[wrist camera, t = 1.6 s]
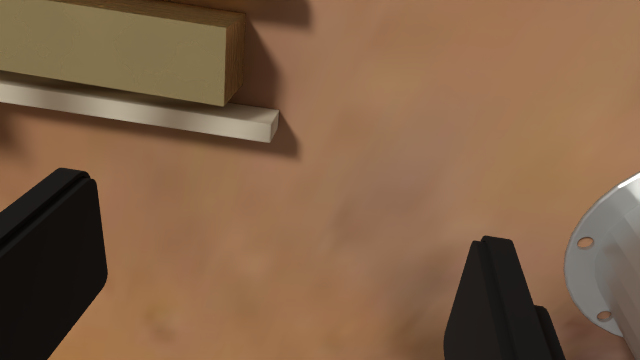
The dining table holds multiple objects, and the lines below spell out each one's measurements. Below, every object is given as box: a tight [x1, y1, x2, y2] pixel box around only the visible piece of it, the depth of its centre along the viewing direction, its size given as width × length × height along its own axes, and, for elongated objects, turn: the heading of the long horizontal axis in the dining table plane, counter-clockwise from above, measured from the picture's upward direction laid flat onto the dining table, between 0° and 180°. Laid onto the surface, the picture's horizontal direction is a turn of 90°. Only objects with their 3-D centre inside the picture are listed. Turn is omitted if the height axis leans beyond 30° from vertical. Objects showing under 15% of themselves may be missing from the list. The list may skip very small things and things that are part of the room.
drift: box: [0, 0, 246, 106], centre depth 25 cm, size 14×4×4 cm, turn 83°
